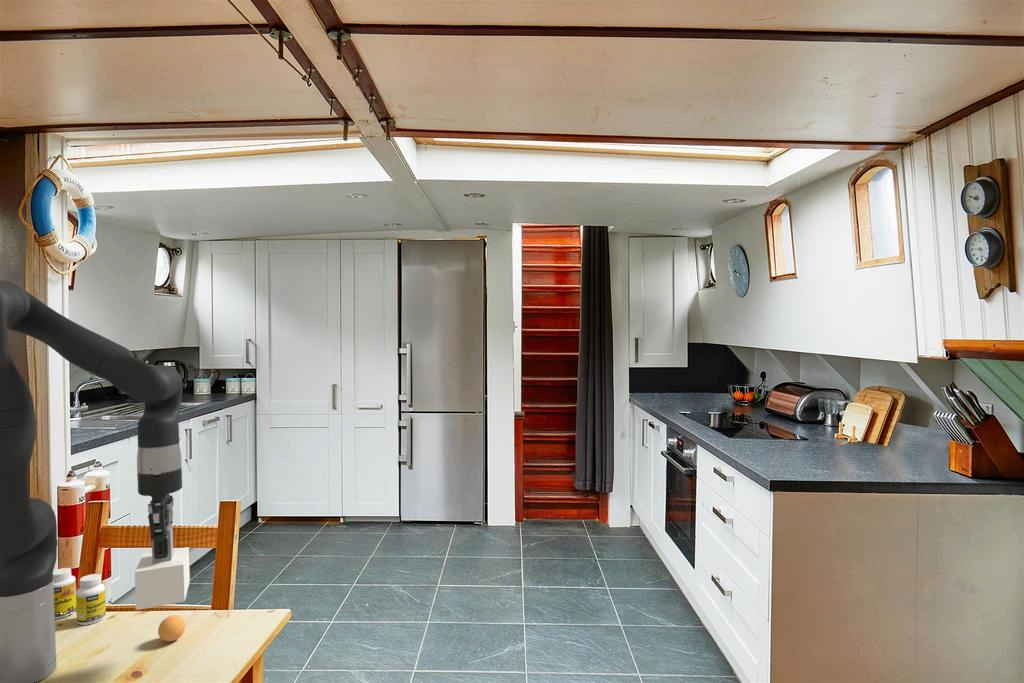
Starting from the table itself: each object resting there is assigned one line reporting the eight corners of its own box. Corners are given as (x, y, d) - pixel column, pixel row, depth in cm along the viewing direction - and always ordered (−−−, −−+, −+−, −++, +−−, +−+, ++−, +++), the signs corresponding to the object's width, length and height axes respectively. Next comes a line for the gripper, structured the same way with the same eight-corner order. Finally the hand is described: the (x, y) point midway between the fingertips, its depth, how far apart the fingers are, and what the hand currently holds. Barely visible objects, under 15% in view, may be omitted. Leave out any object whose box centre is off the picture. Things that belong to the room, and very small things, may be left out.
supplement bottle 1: (45, 623, 134) (43, 578, 134) (47, 613, 139) (46, 570, 139) (76, 616, 137) (74, 572, 137) (77, 606, 142) (75, 564, 142)
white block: (136, 610, 112) (133, 540, 111) (145, 588, 121) (142, 524, 121) (184, 601, 115) (182, 533, 114) (189, 581, 124) (187, 518, 124)
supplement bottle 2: (85, 628, 132) (84, 584, 132) (71, 623, 134) (69, 579, 134) (111, 616, 137) (109, 574, 136) (97, 612, 139) (95, 570, 139)
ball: (156, 648, 123) (155, 624, 123) (160, 637, 127) (159, 613, 127) (184, 643, 125) (183, 619, 125) (186, 631, 129) (186, 609, 129)
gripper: (143, 462, 122) (146, 545, 123) (130, 478, 109) (133, 571, 110) (185, 458, 125) (187, 539, 126) (177, 473, 112) (180, 564, 113)
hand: (162, 554), depth 118 cm, fingers closed on white block, 3 cm apart
